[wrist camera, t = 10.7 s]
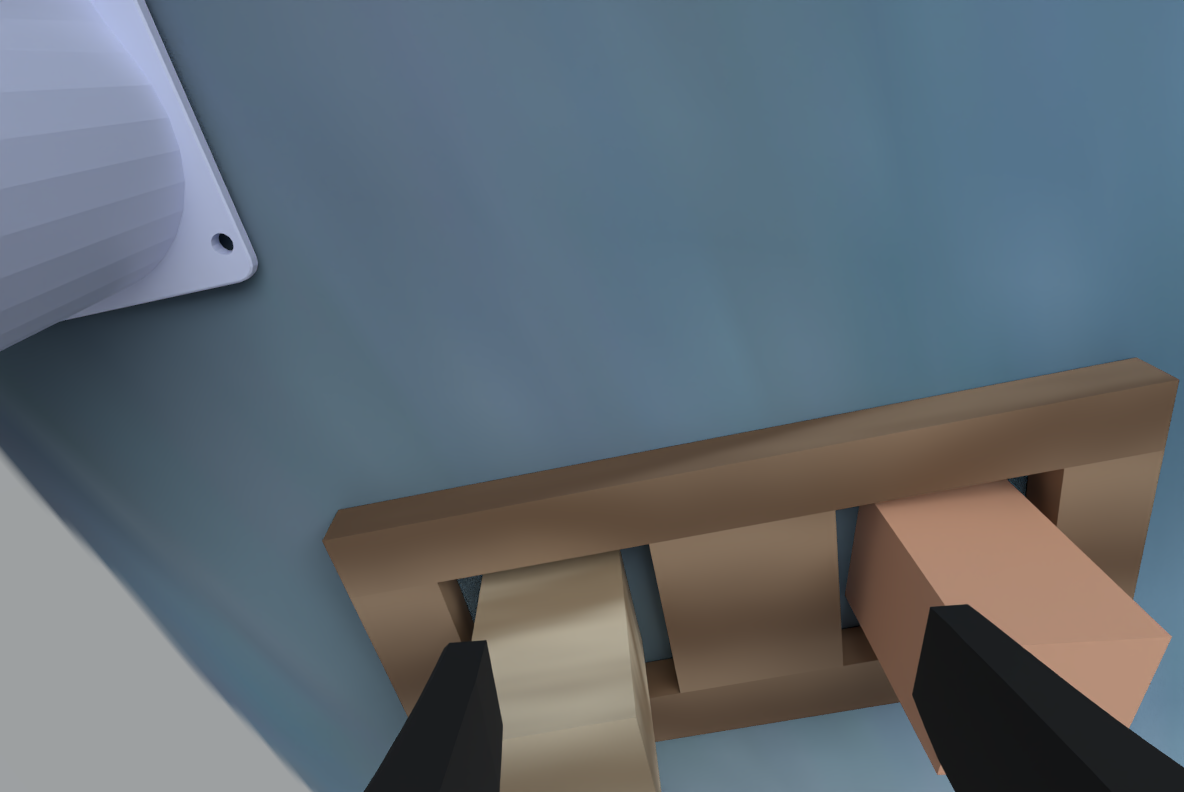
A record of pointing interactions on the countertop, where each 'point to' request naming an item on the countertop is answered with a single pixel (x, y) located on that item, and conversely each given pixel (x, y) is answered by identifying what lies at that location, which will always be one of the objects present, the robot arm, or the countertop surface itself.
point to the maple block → (569, 677)
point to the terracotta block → (997, 593)
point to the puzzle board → (762, 534)
